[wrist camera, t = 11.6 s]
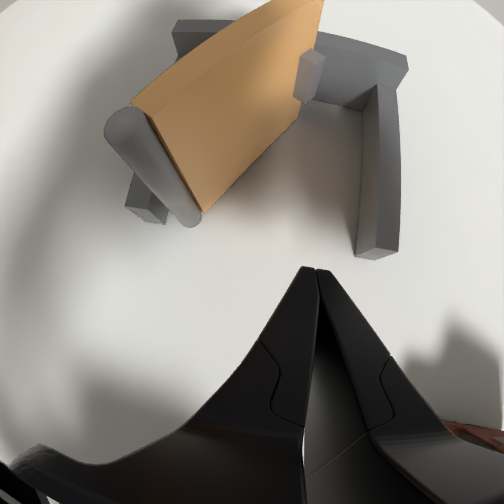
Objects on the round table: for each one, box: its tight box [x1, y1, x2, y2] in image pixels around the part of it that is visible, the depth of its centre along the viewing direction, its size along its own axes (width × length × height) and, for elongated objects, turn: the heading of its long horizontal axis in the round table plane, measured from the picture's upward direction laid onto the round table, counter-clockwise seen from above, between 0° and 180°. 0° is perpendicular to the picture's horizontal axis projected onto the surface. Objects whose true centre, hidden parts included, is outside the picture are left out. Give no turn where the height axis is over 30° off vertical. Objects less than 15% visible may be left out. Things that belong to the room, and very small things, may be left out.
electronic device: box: [441, 419, 504, 454], centre depth 10 cm, size 4×10×8 cm, turn 67°
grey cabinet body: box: [125, 20, 409, 260], centre depth 15 cm, size 12×13×5 cm
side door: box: [104, 0, 326, 228], centre depth 12 cm, size 2×9×9 cm, turn 140°
